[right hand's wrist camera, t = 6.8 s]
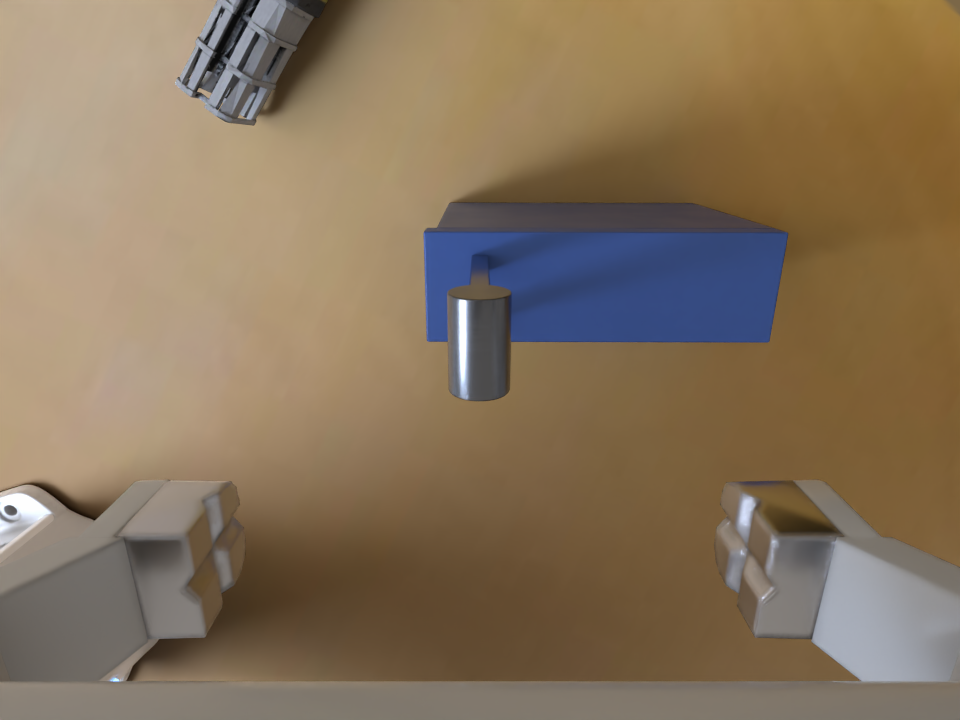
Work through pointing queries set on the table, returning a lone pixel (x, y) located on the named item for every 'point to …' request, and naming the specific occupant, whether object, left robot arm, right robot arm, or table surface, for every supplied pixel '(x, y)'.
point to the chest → (590, 216)
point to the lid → (592, 291)
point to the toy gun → (245, 53)
